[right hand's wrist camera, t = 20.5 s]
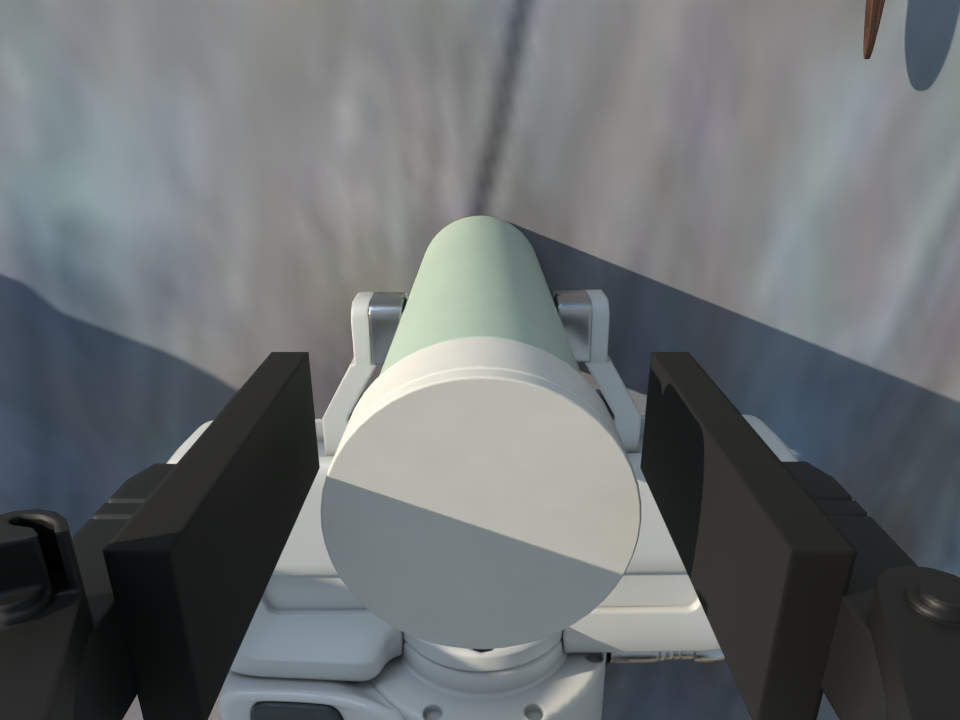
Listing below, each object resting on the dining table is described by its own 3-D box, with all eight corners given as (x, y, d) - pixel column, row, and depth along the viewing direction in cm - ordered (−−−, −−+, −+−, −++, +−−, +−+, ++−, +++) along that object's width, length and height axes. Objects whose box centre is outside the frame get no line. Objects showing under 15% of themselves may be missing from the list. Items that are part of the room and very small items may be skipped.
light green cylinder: (451, 346, 27) (416, 635, 12) (402, 244, 25) (295, 432, 11) (555, 303, 26) (652, 553, 11) (511, 196, 25) (559, 324, 10)
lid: (328, 339, 11) (301, 381, 9) (626, 332, 11) (652, 372, 9) (356, 581, 13) (337, 653, 11) (612, 576, 13) (632, 647, 11)
